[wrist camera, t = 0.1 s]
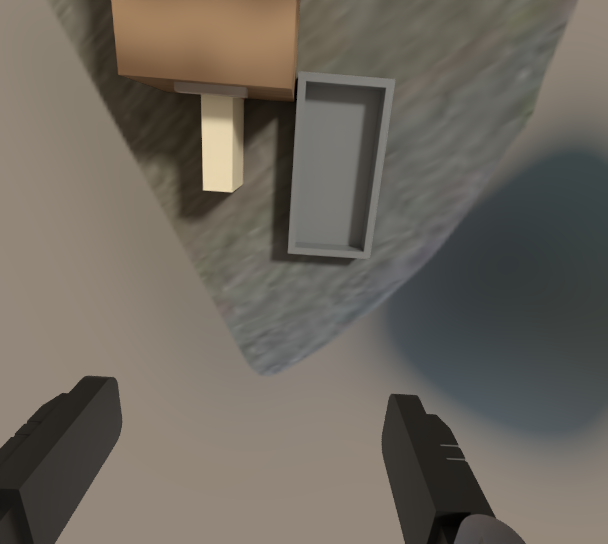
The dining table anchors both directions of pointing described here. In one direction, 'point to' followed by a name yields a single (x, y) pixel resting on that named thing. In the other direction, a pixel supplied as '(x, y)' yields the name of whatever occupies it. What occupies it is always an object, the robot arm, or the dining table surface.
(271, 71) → the wooden block
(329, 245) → the tray
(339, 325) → the dining table surface
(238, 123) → the cream rectangular block
